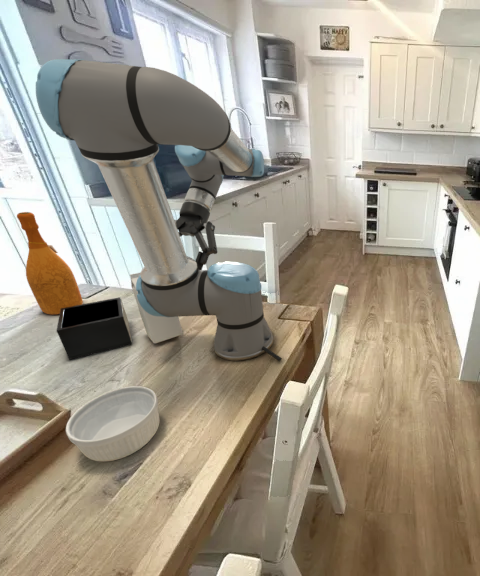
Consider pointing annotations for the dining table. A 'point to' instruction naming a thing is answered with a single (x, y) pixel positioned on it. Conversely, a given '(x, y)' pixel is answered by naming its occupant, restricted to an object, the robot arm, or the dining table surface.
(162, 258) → the robot arm
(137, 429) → the ramekin
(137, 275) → the milk carton
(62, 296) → the wine bottle
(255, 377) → the dining table surface
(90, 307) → the open black box
